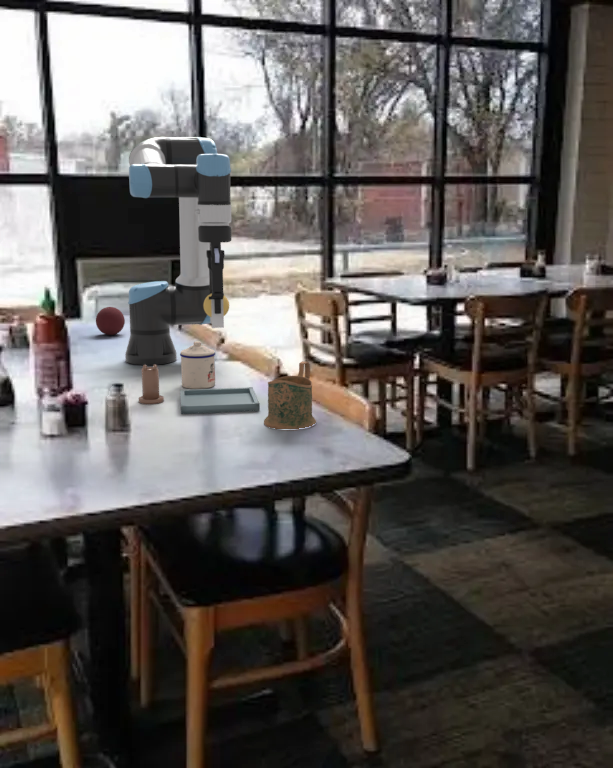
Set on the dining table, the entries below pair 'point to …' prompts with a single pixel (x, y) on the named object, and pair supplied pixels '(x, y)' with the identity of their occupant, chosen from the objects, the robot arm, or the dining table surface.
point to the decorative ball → (110, 320)
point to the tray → (218, 400)
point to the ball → (208, 305)
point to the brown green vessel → (290, 401)
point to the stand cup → (150, 386)
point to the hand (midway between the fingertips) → (217, 324)
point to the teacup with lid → (198, 367)
